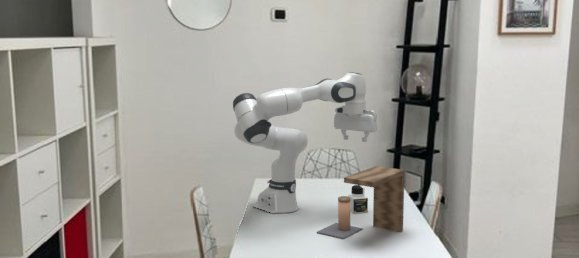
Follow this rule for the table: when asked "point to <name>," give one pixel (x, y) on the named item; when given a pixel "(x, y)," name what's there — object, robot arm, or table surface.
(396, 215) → the walnut stand
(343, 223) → the terracotta jar
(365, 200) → the medicine bottle
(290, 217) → the table surface
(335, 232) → the grey mat
